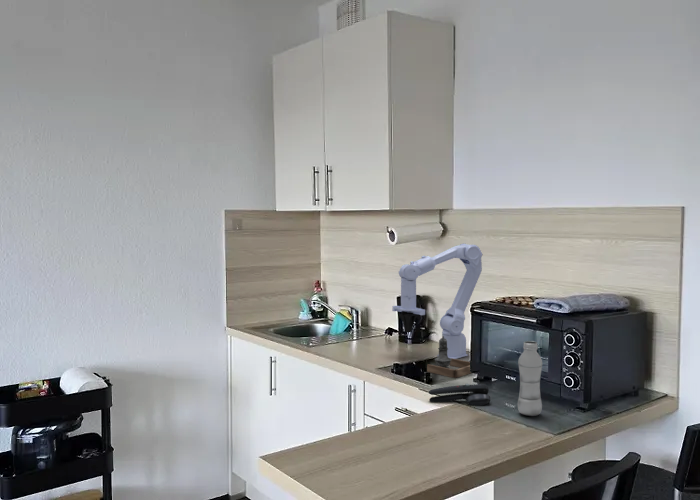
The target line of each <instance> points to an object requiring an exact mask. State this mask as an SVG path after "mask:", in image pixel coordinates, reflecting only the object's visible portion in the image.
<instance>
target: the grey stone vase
mask: <svg viewBox="0 0 700 500" xmlns="http://www.w3.org/2000/svg"><path fill="white" fill-rule="evenodd" d="M437 350H438V354H437V355H438V356H437V357H435V358H434V361H435V364H436V366H440V367H444V368H449V369H451V368H450V367H449V366H450V361H451V359H450V358H448V355H447V350H448V348H447V340H446V339H445V338H444V336H442V335H441V338H440V339H438V347H437Z"/></svg>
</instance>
